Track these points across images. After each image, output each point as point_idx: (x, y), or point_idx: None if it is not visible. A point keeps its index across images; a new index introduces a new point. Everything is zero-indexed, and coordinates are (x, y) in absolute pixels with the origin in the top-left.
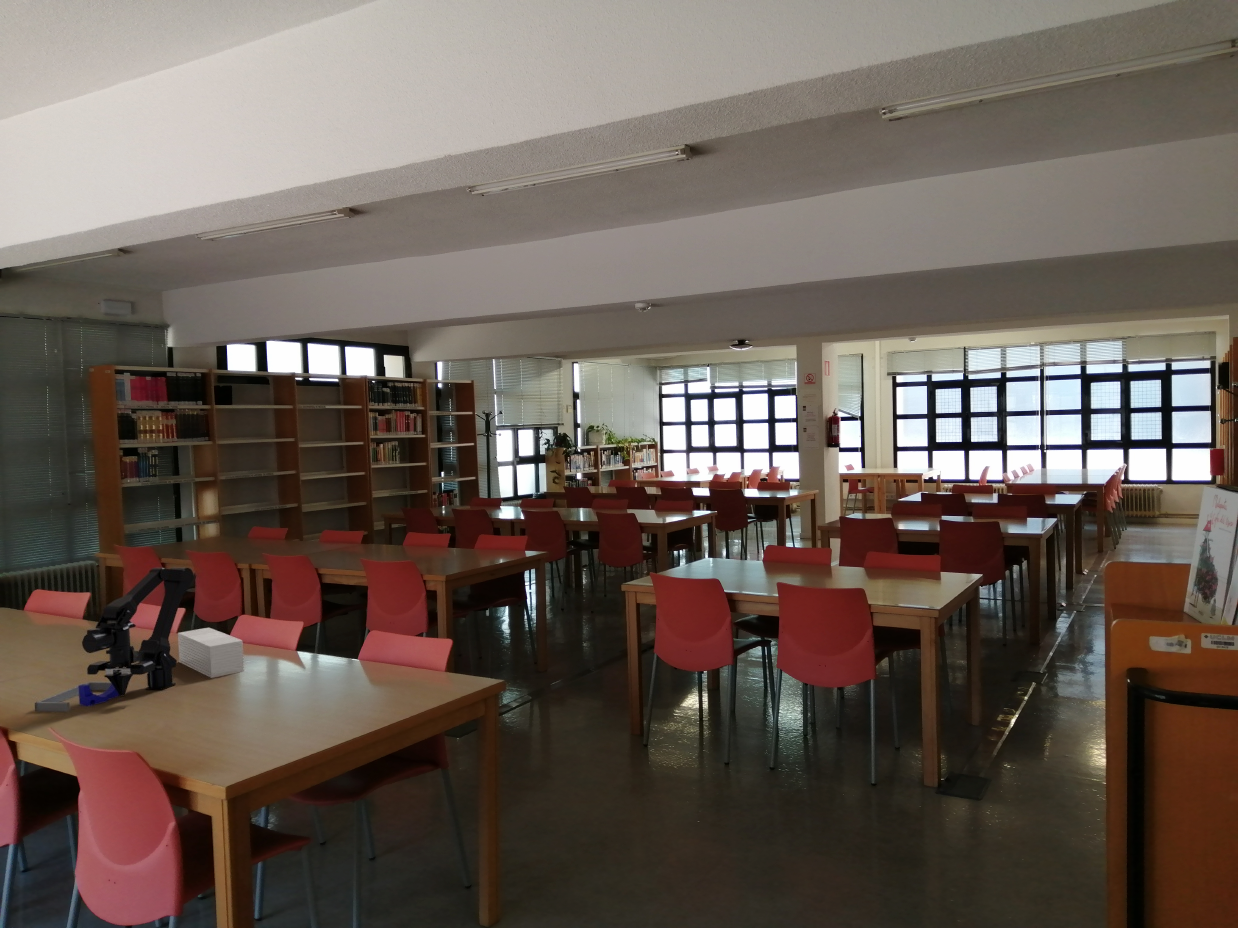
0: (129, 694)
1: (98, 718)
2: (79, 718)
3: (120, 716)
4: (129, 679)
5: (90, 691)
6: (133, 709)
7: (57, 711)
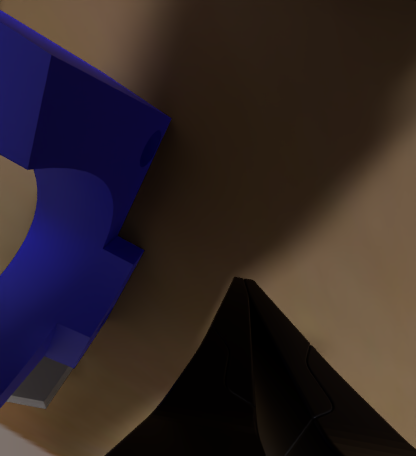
0: (215, 124)
1: None
2: None
3: None
4: (363, 416)
5: (33, 355)
6: None
7: None
